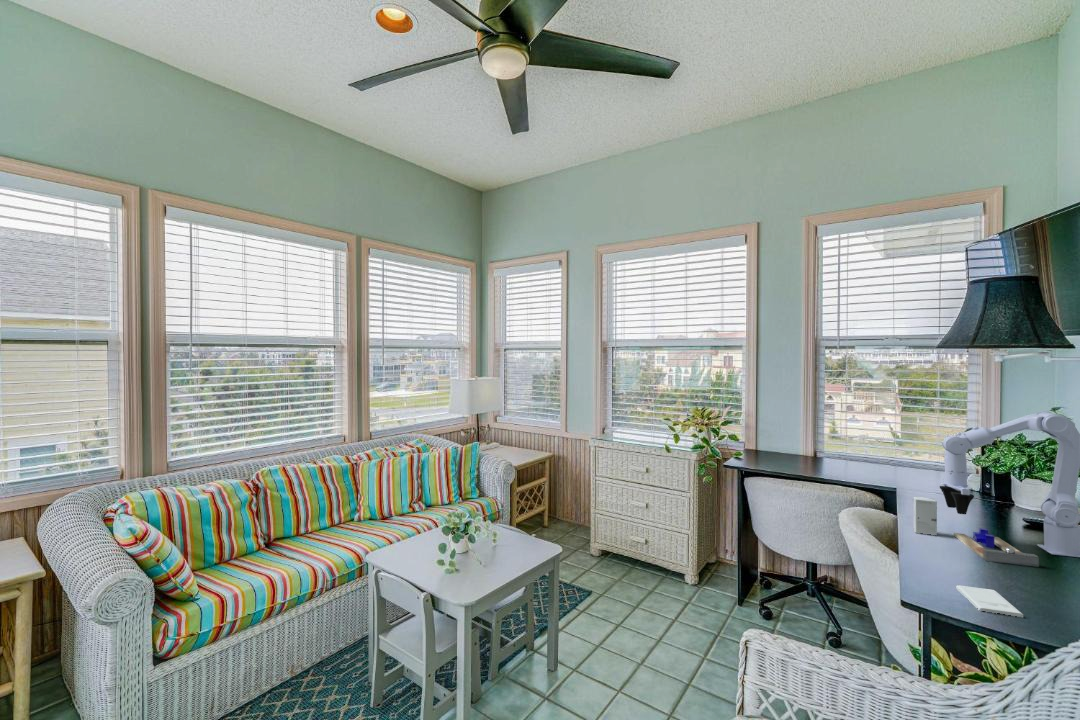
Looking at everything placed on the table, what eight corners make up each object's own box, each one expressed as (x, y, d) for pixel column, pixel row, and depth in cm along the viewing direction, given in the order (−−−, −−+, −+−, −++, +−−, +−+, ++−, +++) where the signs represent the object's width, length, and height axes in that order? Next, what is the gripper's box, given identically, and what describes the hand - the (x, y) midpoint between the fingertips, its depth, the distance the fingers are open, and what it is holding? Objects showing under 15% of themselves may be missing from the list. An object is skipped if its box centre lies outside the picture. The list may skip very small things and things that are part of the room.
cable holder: (973, 539, 162) (973, 527, 162) (987, 540, 160) (986, 529, 160) (980, 546, 155) (979, 534, 155) (994, 548, 153) (994, 536, 153)
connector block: (1034, 564, 140) (1034, 550, 141) (1038, 567, 139) (1038, 552, 139) (983, 558, 145) (983, 544, 145) (986, 561, 143) (986, 547, 143)
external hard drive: (995, 596, 123) (1023, 620, 111) (956, 590, 126) (979, 613, 114) (995, 589, 123) (1023, 613, 111) (956, 584, 126) (979, 607, 114)
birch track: (998, 540, 160) (997, 536, 160) (1034, 564, 140) (1034, 560, 140) (953, 535, 164) (953, 532, 164) (983, 558, 145) (983, 554, 145)
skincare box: (915, 533, 167) (915, 499, 167) (913, 529, 171) (912, 496, 171) (937, 536, 164) (937, 501, 164) (934, 532, 168) (934, 498, 168)
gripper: (932, 466, 171) (933, 503, 170) (950, 474, 157) (951, 515, 157) (957, 467, 168) (957, 505, 168) (977, 476, 154) (978, 517, 154)
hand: (956, 510), depth 162 cm, fingers open, 7 cm apart
